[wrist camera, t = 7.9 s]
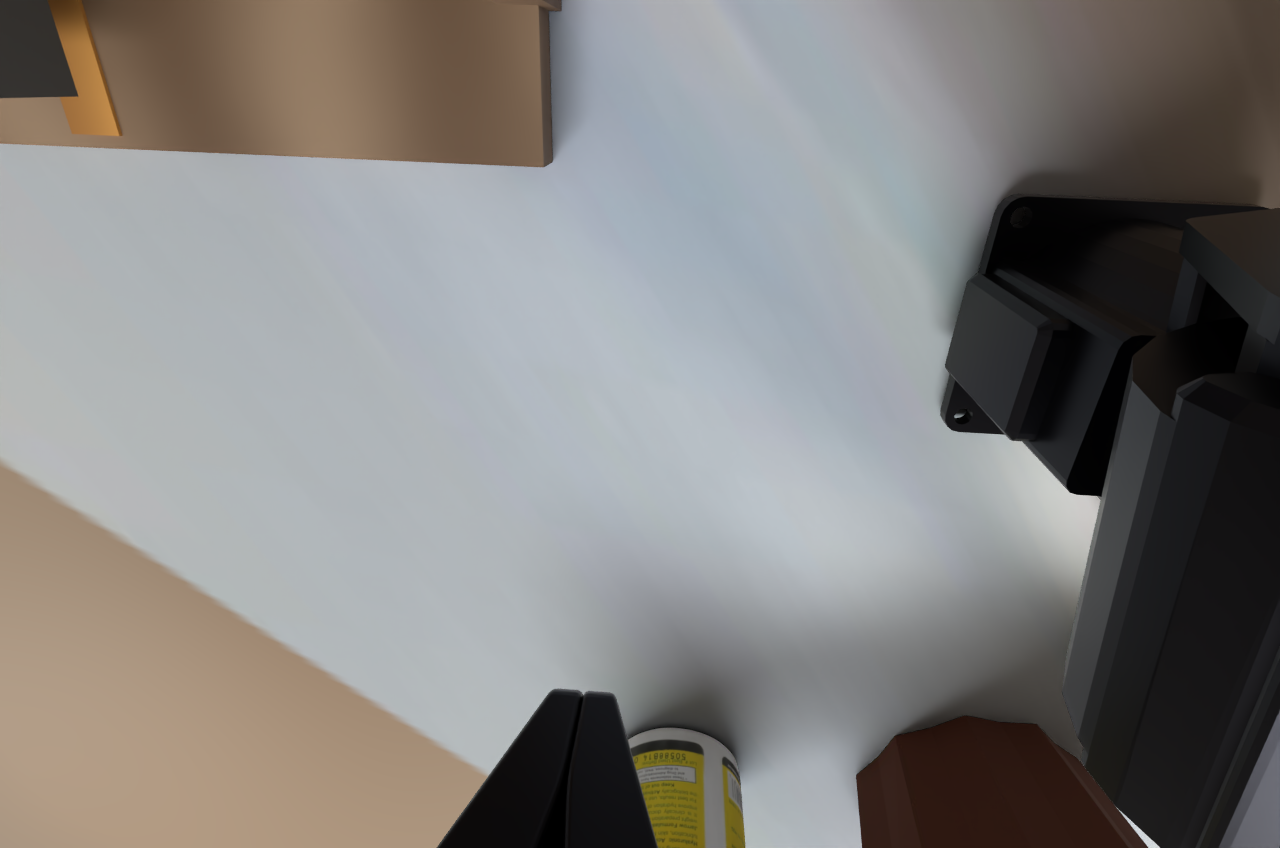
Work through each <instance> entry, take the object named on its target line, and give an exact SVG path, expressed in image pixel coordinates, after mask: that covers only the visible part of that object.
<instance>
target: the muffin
mask: <svg viewBox="0 0 1280 848" xmlns="http://www.w3.org/2000/svg"><path fill="white" fill-rule="evenodd" d="M856 780H857V791H858V803H859V815H860V827H861V839H862V848H1148V847H1147V846H1146V844H1145V843H1144V842H1143V840H1142V839H1141V838H1140V837H1139V835H1138V834H1137V833H1136V832H1135V830H1134V829H1133V828H1132V827H1131V825H1130V824H1129V823H1128V822H1127V820H1126V819H1125V818H1124V817H1123V815H1122V814H1121V813H1120V811H1119V810H1118V809H1117V808H1116V806H1115V805H1114V804H1113V803H1112V801H1111V800H1110V799H1109V798H1108V796H1107V795H1106V794H1105V793H1104V791H1103V790H1102V789H1101V788H1100V786H1099V785H1098V784H1097V782H1096V781H1095V780H1094V779H1093V777H1092V776H1091V775H1090V774H1089V772H1088V771H1087V770H1086V769H1085V767H1084V766H1083V765H1082V764H1081V762H1080V761H1079V760H1078V759H1077V758H1076V757H1074V756H1073V755H1071V754H1070V753H1068V752H1067V751H1065V750H1064V749H1062V748H1061V747H1059V746H1058V745H1056V744H1055V743H1054V742H1053V741H1052V740H1051V739H1050V738H1049V737H1048V736H1047V735H1046V734H1045V733H1044V731H1043V730H1042V729H1041V728H1040V727H1039V726H1038V725H1037V724H1024V723H1007V722H996V721H991V720H986V719H981V718H976V717H971V716H965V715H964V716H962V717H959V718H956V719H953V720H951V721H948V722H945V723H943V724H940V725H937V726H934V727H932V728H928V729H924V730H919V731H915V732H910V733H906V734H902V735H897V736H894V738H893V739H892V740H891V741H890V743H889V744H888V745H887V746H886V748H885V749H884V750H883V751H882V753H881V754H880V755H879V756H878V757H877V758H876V759H875V760H874V761H873V762H872V763H870V764H869V765H868V766H867V767H866V768H864V769H863V770H862V771H861V772H860V773H858V774H857V775H856Z"/></svg>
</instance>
